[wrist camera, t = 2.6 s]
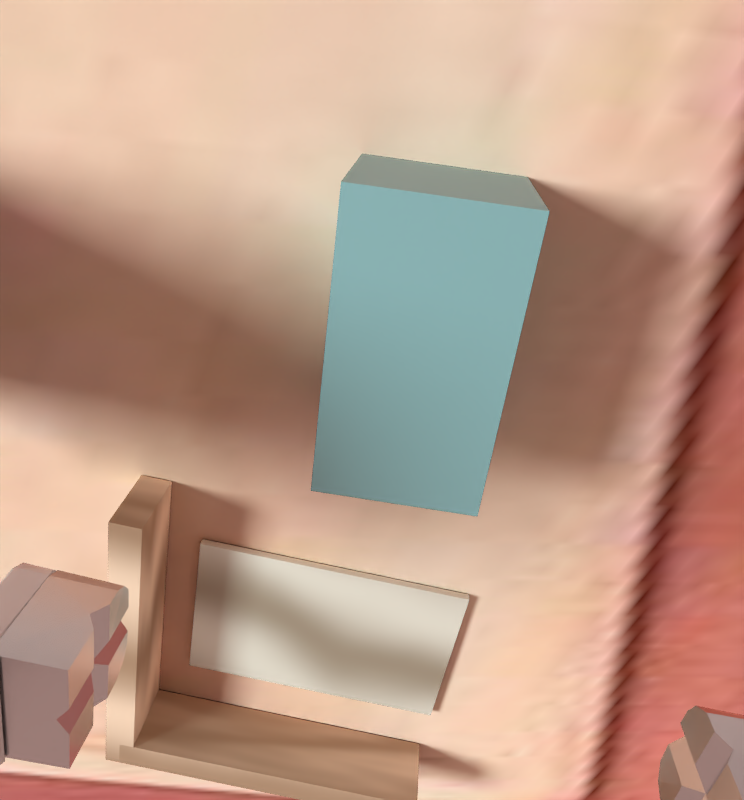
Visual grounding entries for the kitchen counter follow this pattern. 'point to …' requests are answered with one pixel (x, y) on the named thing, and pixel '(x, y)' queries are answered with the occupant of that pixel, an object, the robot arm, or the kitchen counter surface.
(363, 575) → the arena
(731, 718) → the robot arm
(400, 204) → the teal block
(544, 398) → the kitchen counter surface
